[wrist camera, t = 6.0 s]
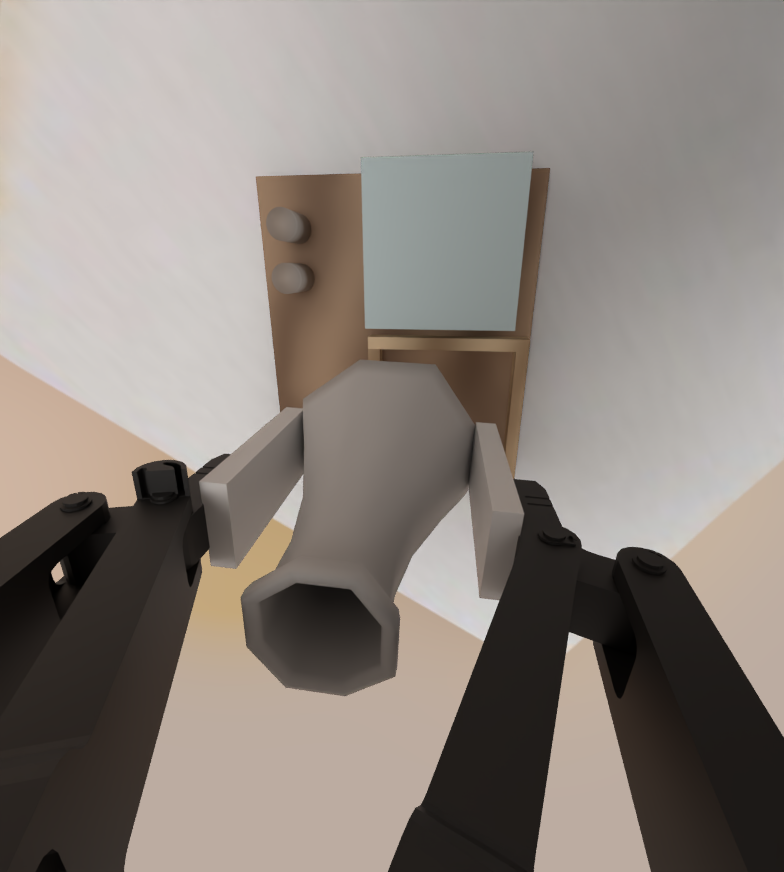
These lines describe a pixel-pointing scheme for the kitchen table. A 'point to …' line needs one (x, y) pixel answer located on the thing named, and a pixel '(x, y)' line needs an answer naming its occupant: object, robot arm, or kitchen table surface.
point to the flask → (359, 524)
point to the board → (345, 313)
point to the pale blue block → (444, 240)
